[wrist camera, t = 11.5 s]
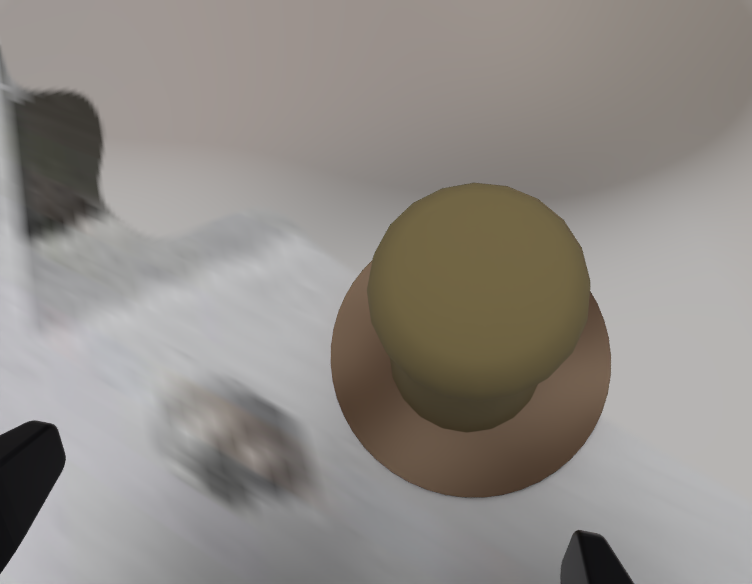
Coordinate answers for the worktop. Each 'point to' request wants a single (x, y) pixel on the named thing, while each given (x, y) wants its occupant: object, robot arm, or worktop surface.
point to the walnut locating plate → (460, 449)
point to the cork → (477, 302)
